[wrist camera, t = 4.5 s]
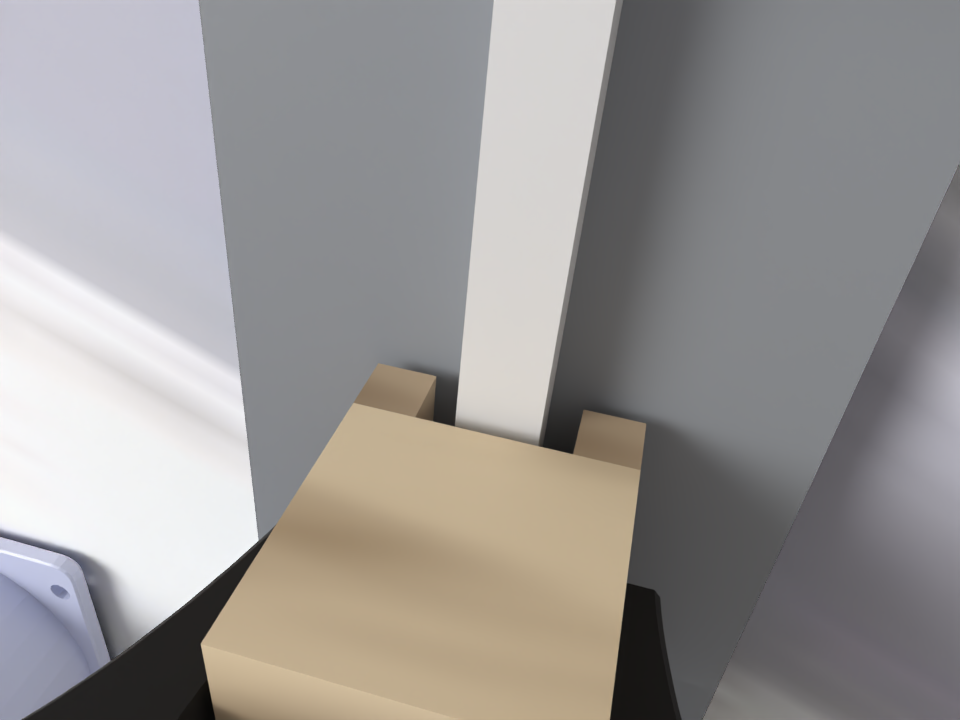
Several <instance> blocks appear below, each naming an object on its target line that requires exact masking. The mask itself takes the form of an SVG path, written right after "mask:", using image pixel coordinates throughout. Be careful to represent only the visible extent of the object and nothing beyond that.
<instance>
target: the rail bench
mask: <svg viewBox="0 0 960 720" xmlns="http://www.w3.org/2000/svg"><path fill="white" fill-rule="evenodd" d="M199 7H200V16H201V25H202V34H203V43H204V52H205V61H206V70H207V79H208V88H209V97H210V106H211V115H212V124H213V133H214V142H215V151H216V160H217V169H218V178H219V187H220V196H221V205H222V214H223V223H224V232H225V241H226V250H227V259H228V268H229V277H230V286H231V295H232V304H233V313H234V322H235V331H236V340H237V349H238V358H239V367H240V376H241V385H242V394H243V403H244V412H245V421H246V430H247V439H248V448H249V457H250V466H251V475H252V484H253V493H254V502H255V511H256V520H257V529H258V538H259V540H260V539H261V538H262V537H263V536H265V535H266V534H267V533H268V532H269V531H270V530H271V529H272V528H273V527H274V526H275V525H276V524H277V523H278V521H279V519H280V518H281V516H282V515H283V513H284V512H285V510H286V508H287V507H288V505H289V504H290V502H291V500H292V499H293V497H294V496H295V494H296V493H297V491H298V489H299V488H300V486H301V485H302V483H303V482H304V480H305V478H306V477H307V475H308V474H309V472H310V470H311V469H312V467H313V466H314V464H315V463H316V461H317V459H318V458H319V456H320V455H321V453H322V452H323V450H324V448H325V447H326V445H327V444H328V442H329V440H330V439H331V437H332V436H333V434H334V433H335V431H336V429H337V428H338V426H339V425H340V423H341V422H342V420H343V418H344V417H345V415H346V414H347V412H348V410H349V409H350V407H351V406H352V404H353V403H354V401H355V399H356V398H357V396H358V395H359V393H360V391H361V390H362V388H363V387H364V385H365V384H366V382H367V380H368V379H369V377H370V376H371V374H372V373H373V371H374V369H375V368H376V366H377V365H378V363H380V364H384V365H389V366H393V367H398V368H402V369H406V370H411V371H415V372H420V373H424V374H429V375H433V376H436V387H435V402H434V416H433V422H437V423H441V424H446V425H450V426H454V427H458V428H463V429H467V430H471V431H475V432H480V433H484V434H488V435H492V436H497V437H501V438H505V439H510V440H514V441H518V442H522V443H527V444H531V445H535V446H539V447H544V448H548V449H552V450H556V451H561V452H565V453H569V454H573V453H574V448H575V444H576V440H577V436H578V431H579V427H580V423H581V418H582V414H583V410H588V411H593V412H597V413H602V414H606V415H611V416H615V417H619V418H624V419H628V420H633V421H637V422H642V423H646V431H645V439H644V447H643V455H642V463H641V471H640V479H639V487H638V495H637V504H636V512H635V520H634V528H633V536H632V544H631V552H630V560H629V568H628V576H627V583H630V584H634V585H638V586H641V587H645V588H649V589H653V590H655V591H656V592H657V594H658V595H659V596H660V600H661V613H662V621H663V629H664V636H665V643H666V649H667V654H668V660H669V665H670V670H671V675H672V680H673V685H674V690H675V694H676V698H677V703H678V707H679V711H680V715H681V719H682V720H702V719H703V717H704V715H705V713H706V711H707V708H708V706H709V704H710V702H711V700H712V698H713V695H714V693H715V691H716V689H717V687H718V685H719V682H720V680H721V678H722V676H723V674H724V672H725V669H726V667H727V665H728V663H729V661H730V659H731V657H732V654H733V652H734V650H735V648H736V646H737V644H738V641H739V639H740V637H741V635H742V633H743V631H744V628H745V626H746V624H747V622H748V620H749V618H750V615H751V613H752V611H753V609H754V607H755V605H756V602H757V600H758V598H759V596H760V594H761V592H762V589H763V587H764V585H765V583H766V581H767V579H768V577H769V574H770V572H771V570H772V568H773V566H774V564H775V561H776V559H777V557H778V555H779V553H780V551H781V548H782V546H783V544H784V542H785V540H786V538H787V535H788V533H789V531H790V529H791V527H792V525H793V522H794V520H795V518H796V516H797V514H798V512H799V510H800V507H801V505H802V503H803V501H804V499H805V497H806V494H807V492H808V490H809V488H810V486H811V484H812V481H813V479H814V477H815V475H816V473H817V471H818V468H819V466H820V464H821V462H822V460H823V458H824V455H825V453H826V451H827V449H828V447H829V445H830V443H831V440H832V438H833V436H834V434H835V432H836V430H837V427H838V425H839V423H840V421H841V419H842V417H843V414H844V412H845V410H846V408H847V406H848V404H849V401H850V399H851V397H852V395H853V393H854V391H855V388H856V386H857V384H858V382H859V380H860V378H861V376H862V373H863V371H864V369H865V367H866V365H867V363H868V360H869V358H870V356H871V354H872V352H873V350H874V347H875V345H876V343H877V341H878V339H879V337H880V334H881V332H882V330H883V328H884V326H885V324H886V321H887V319H888V317H889V315H890V313H891V311H892V309H893V306H894V304H895V302H896V300H897V298H898V296H899V293H900V291H901V289H902V287H903V285H904V283H905V280H906V278H907V276H908V274H909V272H910V270H911V267H912V265H913V263H914V261H915V259H916V257H917V254H918V252H919V250H920V248H921V246H922V244H923V242H924V239H925V237H926V235H927V233H928V231H929V229H930V226H931V224H932V222H933V220H934V218H935V216H936V213H937V211H938V209H939V207H940V205H941V203H942V200H943V198H944V196H945V194H946V192H947V190H948V187H949V185H950V183H951V181H952V179H953V177H954V174H955V172H956V170H957V168H958V166H959V164H960V0H199Z"/></svg>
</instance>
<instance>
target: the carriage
mask: <svg viewBox="0 0 960 720" xmlns="http://www.w3.org/2000/svg"><path fill="white" fill-rule="evenodd" d="M435 387H436V376H433V375H429V374H424V373H420V372H415V371H411V370H406V369H402V368H398V367H393V366H389V365H384V364H380V363H378V365H377V366H376V368H375V369H374V371H373V373H372V374H371V376H370V377H369V379H368V380H367V382H366V384H365V385H364V387H363V388H362V390H361V391H360V393H359V395H358V396H357V398H356V399H355V401H354V403H353V404H352V406H351V407H350V409H349V410H348V412H347V414H346V415H345V417H344V418H343V420H342V422H341V423H340V425H339V426H338V428H337V429H336V431H335V433H334V434H333V436H332V437H331V439H330V440H329V442H328V444H327V445H326V447H325V448H324V450H323V452H322V453H321V455H320V456H319V458H318V459H317V461H316V463H315V464H314V466H313V467H312V469H311V470H310V472H309V474H308V475H307V477H306V478H305V480H304V482H303V483H302V485H301V486H300V488H299V489H298V491H297V493H296V494H295V496H294V497H293V499H292V500H291V502H290V504H289V505H288V507H287V508H286V510H285V512H284V513H283V515H282V516H281V518H280V519H279V521H278V523H277V524H276V526H275V527H274V529H273V530H272V532H271V534H270V535H269V537H268V538H267V540H266V542H265V543H264V545H263V546H262V548H261V549H260V551H259V553H258V554H257V556H256V557H255V559H254V560H253V562H252V564H251V565H250V567H249V568H248V570H247V572H246V573H245V575H244V576H243V578H242V579H241V581H240V583H239V584H238V586H237V587H236V589H235V590H234V592H233V594H232V595H231V597H230V598H229V600H228V602H227V603H226V605H225V606H224V608H223V609H222V611H221V613H220V614H219V616H218V617H217V619H216V621H215V622H214V624H213V625H212V627H211V628H210V630H209V632H208V633H207V635H206V636H205V638H204V639H203V641H202V643H201V648H202V653H203V658H204V663H205V668H206V674H207V679H208V684H209V689H210V694H211V699H212V704H213V709H214V714H215V719H216V720H610V714H611V706H612V698H613V690H614V682H615V673H616V665H617V657H618V649H619V641H620V633H621V625H622V617H623V609H624V601H625V593H626V584H627V576H628V568H629V560H630V552H631V544H632V536H633V528H634V520H635V512H636V504H637V495H638V487H639V479H640V471H641V463H642V455H643V447H644V439H645V431H646V423H642V422H637V421H633V420H628V419H624V418H619V417H615V416H611V415H606V414H602V413H597V412H593V411H588V410H583V414H582V418H581V423H580V427H579V431H578V436H577V440H576V444H575V448H574V453H573V454H569V453H565V452H561V451H556V450H552V449H548V448H544V447H539V446H535V445H531V444H527V443H522V442H518V441H514V440H510V439H505V438H501V437H497V436H492V435H488V434H484V433H480V432H475V431H471V430H467V429H463V428H458V427H454V426H450V425H446V424H441V423H437V422H433V416H434V402H435Z"/></svg>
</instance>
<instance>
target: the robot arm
mask: <svg viewBox="0 0 960 720" xmlns="http://www.w3.org/2000/svg"><path fill="white" fill-rule="evenodd" d="M275 526H276V525H275ZM275 526H274V527H275ZM274 527H273V528H272V529H271V530H270V531H269V532H268V533H267V534H266V535H265V536H263V537H262V538H261V539H260V540H259V541H258V542H257V543H256V544H255V545H254V546H253V547H251V548H250V549H249V550H248V551H247V552H246V553H245V554H244V555H242V556H241V557H240V558H239V559H238V560H237V561H236V562H235V563H233V564H232V565H231V566H230V567H229V568H228V569H227V570H225V571H224V572H223V573H222V574H221V575H219V576H218V577H217V578H216V579H215V580H213V581H212V582H211V583H210V584H209V585H208V586H206V587H205V588H204V589H203V590H202V591H200V592H199V593H198V594H197V595H196V596H195V597H193V598H192V599H191V600H190V601H189V602H187V603H186V604H185V605H184V606H182V607H181V608H180V609H179V610H177V611H176V612H175V613H173V614H172V615H171V616H170V617H168V618H167V619H166V620H164V621H163V622H162V623H161V624H159V625H158V626H157V627H155V628H154V629H153V630H151V631H150V632H149V633H148V634H146V635H145V636H144V637H142V638H141V639H140V640H138V641H137V642H136V643H135V644H133V645H132V646H131V647H129V648H128V649H127V650H125V651H124V652H122V653H121V654H120V655H118V656H117V657H115V658H114V659H113V660H110V656H109V653H108V650H107V647H106V644H105V641H104V637H103V634H102V631H101V628H100V625H99V621H98V618H97V615H96V612H95V609H94V605H93V602H92V599H91V596H90V593H89V589H88V586H87V583H86V580H85V577H84V573H83V571H82V569H81V567H80V566H79V565H78V564H77V563H76V562H75V561H74V560H73V559H71V558H70V557H67V556H65V555H63V554H59V553H56V552H52V551H48V550H45V549H41V548H38V547H34V546H31V545H27V544H24V543H20V542H16V541H13V540H9V539H6V538H2V537H0V720H216V719H215V714H214V709H213V704H212V699H211V694H210V689H209V684H208V679H207V674H206V668H205V663H204V658H203V653H202V648H201V643H202V641H203V639H204V638H205V636H206V635H207V633H208V632H209V630H210V628H211V627H212V625H213V624H214V622H215V621H216V619H217V617H218V616H219V614H220V613H221V611H222V609H223V608H224V606H225V605H226V603H227V602H228V600H229V598H230V597H231V595H232V594H233V592H234V590H235V589H236V587H237V586H238V584H239V583H240V581H241V579H242V578H243V576H244V575H245V573H246V572H247V570H248V568H249V567H250V565H251V564H252V562H253V560H254V559H255V557H256V556H257V554H258V553H259V551H260V549H261V548H262V546H263V545H264V543H265V542H266V540H267V538H268V537H269V535H270V534H271V532H272V530H273V529H274ZM610 720H682V719H681V715H680V711H679V707H678V703H677V698H676V694H675V690H674V685H673V680H672V675H671V670H670V665H669V660H668V654H667V649H666V643H665V636H664V629H663V621H662V613H661V600H660V596H659V595H658V594H657V592H656V591H655V590H653V589H649V588H645V587H641V586H638V585H634V584H630V583H627V584H626V593H625V601H624V609H623V617H622V625H621V633H620V641H619V649H618V657H617V665H616V673H615V682H614V690H613V698H612V706H611V714H610Z"/></svg>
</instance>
